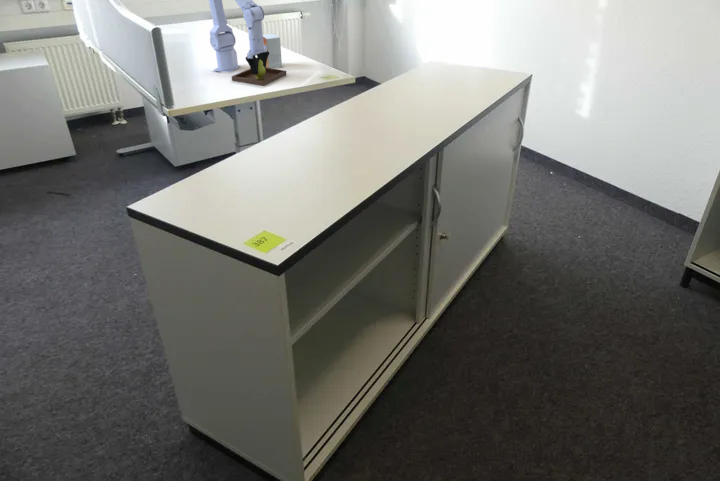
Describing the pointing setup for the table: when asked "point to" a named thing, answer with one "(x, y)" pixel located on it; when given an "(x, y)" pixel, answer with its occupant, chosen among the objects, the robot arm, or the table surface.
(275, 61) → the small box
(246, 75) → the tray
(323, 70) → the table surface
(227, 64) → the robot arm
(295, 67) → the table surface
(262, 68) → the pear
